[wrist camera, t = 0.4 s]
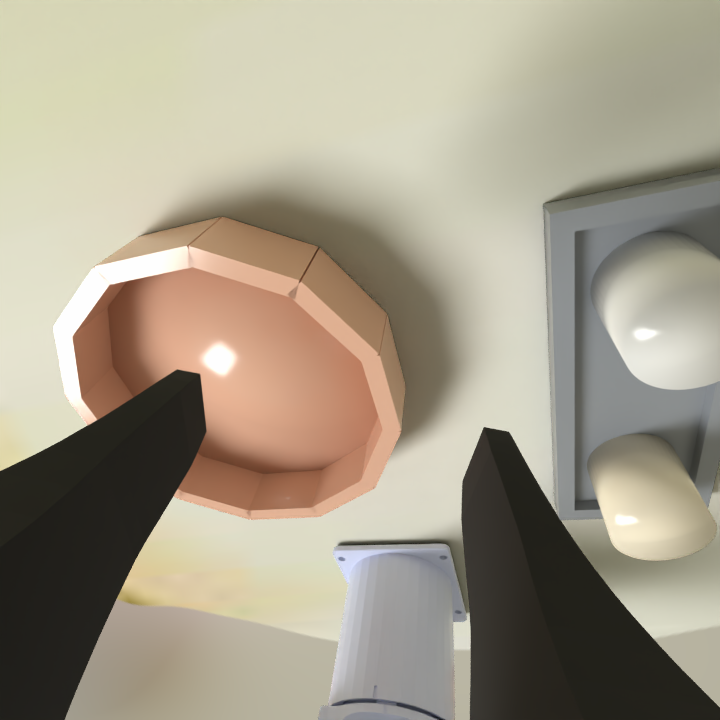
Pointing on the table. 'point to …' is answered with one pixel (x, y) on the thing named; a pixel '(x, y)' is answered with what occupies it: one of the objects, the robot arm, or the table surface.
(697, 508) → the cream marshmallow
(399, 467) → the table surface
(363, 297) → the bowl
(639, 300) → the pale grey cylinder
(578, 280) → the parts tray
